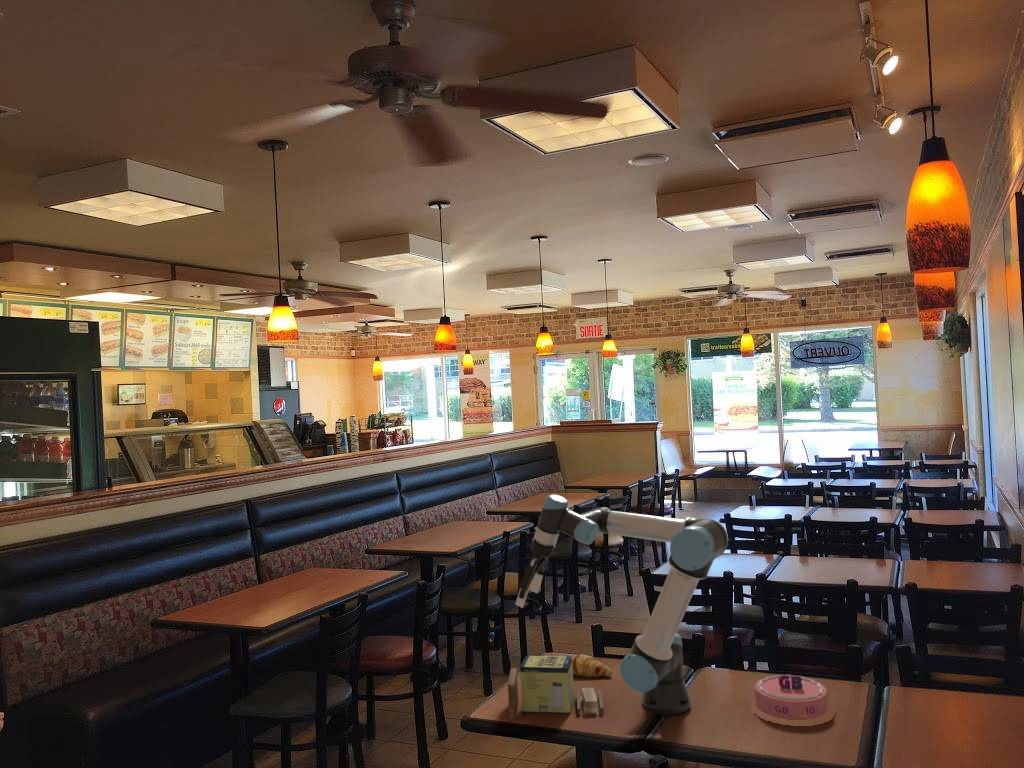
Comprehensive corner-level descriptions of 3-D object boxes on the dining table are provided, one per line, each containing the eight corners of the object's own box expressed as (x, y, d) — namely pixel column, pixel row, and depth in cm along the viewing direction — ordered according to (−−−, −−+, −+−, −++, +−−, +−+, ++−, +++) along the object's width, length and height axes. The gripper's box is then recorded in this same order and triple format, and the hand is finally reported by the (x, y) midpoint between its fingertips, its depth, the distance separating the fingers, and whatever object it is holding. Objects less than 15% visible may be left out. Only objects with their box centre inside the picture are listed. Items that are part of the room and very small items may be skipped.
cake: (749, 725, 234) (747, 688, 234) (748, 692, 258) (746, 659, 258) (840, 730, 227) (838, 693, 227) (830, 696, 251) (828, 662, 251)
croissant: (615, 684, 279) (618, 661, 282) (605, 680, 271) (609, 656, 274) (560, 675, 289) (564, 653, 292) (549, 671, 281) (553, 647, 284)
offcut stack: (596, 697, 257) (595, 686, 257) (597, 713, 245) (597, 701, 245) (582, 698, 257) (581, 687, 257) (583, 713, 245) (582, 701, 245)
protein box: (527, 702, 258) (525, 655, 258) (575, 704, 255) (572, 655, 255) (521, 716, 248) (519, 666, 248) (571, 717, 245) (568, 667, 245)
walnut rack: (601, 699, 257) (599, 665, 257) (603, 717, 243) (601, 681, 243) (512, 702, 259) (510, 668, 259) (509, 720, 245) (507, 684, 245)
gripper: (546, 526, 270) (529, 581, 275) (520, 547, 247) (502, 607, 252) (567, 534, 268) (549, 590, 272) (541, 557, 245) (523, 617, 249)
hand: (526, 598), depth 262 cm, fingers open, 13 cm apart
